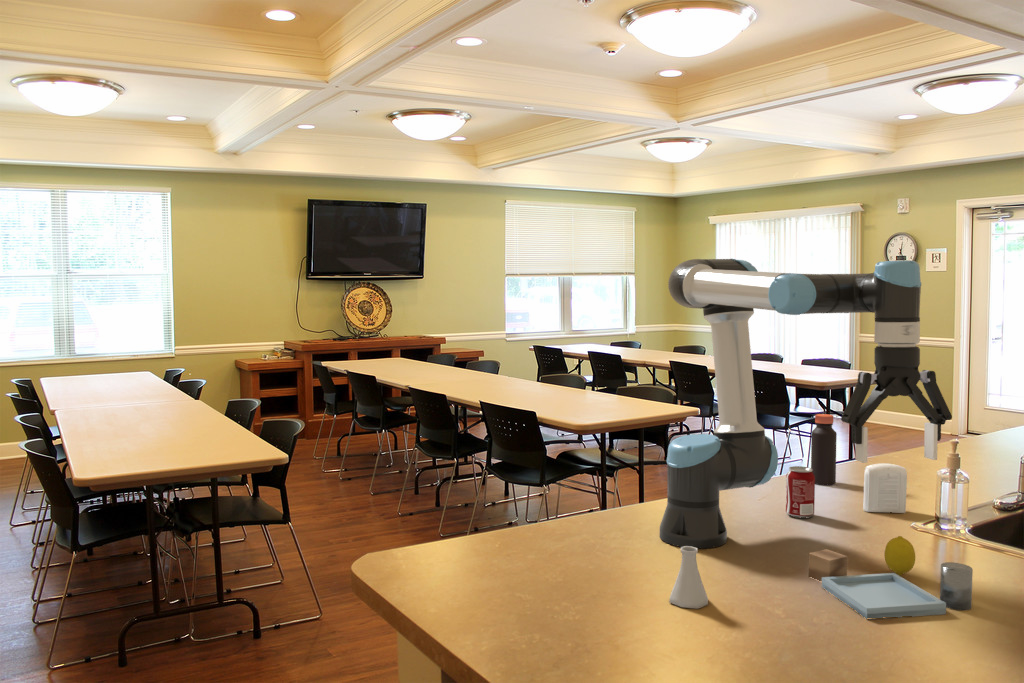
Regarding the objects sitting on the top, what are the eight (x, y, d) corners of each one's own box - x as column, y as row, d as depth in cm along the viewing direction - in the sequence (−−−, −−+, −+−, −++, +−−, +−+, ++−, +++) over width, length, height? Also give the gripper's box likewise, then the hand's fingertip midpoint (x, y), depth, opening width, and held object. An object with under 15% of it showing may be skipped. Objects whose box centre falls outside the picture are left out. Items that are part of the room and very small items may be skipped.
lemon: (912, 572, 161) (913, 533, 160) (916, 581, 155) (917, 541, 155) (882, 569, 162) (883, 530, 162) (885, 578, 157) (886, 539, 157)
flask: (701, 613, 142) (701, 558, 141) (662, 604, 145) (663, 550, 145) (714, 599, 148) (714, 546, 147) (676, 591, 152) (677, 540, 151)
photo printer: (902, 509, 205) (903, 462, 204) (908, 514, 201) (910, 465, 200) (860, 508, 206) (861, 461, 205) (866, 513, 202) (867, 465, 201)
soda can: (818, 519, 197) (819, 471, 196) (790, 519, 197) (791, 471, 196) (808, 511, 204) (809, 465, 203) (782, 511, 204) (782, 465, 203)
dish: (866, 619, 138) (866, 608, 138) (821, 587, 153) (821, 577, 153) (945, 614, 140) (946, 602, 140) (893, 582, 155) (894, 572, 155)
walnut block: (829, 585, 154) (829, 560, 154) (808, 577, 158) (808, 553, 158) (846, 581, 156) (847, 556, 156) (826, 573, 161) (826, 549, 160)
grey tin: (952, 611, 141) (953, 572, 141) (933, 600, 146) (934, 563, 146) (977, 609, 142) (979, 571, 142) (958, 598, 147) (959, 561, 146)
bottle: (839, 485, 230) (840, 417, 228) (815, 485, 230) (816, 417, 229) (830, 480, 237) (831, 413, 235) (807, 480, 237) (808, 413, 235)
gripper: (843, 347, 141) (842, 466, 142) (974, 344, 144) (972, 461, 145) (822, 345, 148) (821, 458, 149) (947, 342, 151) (945, 453, 152)
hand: (896, 460), depth 147 cm, fingers open, 13 cm apart
